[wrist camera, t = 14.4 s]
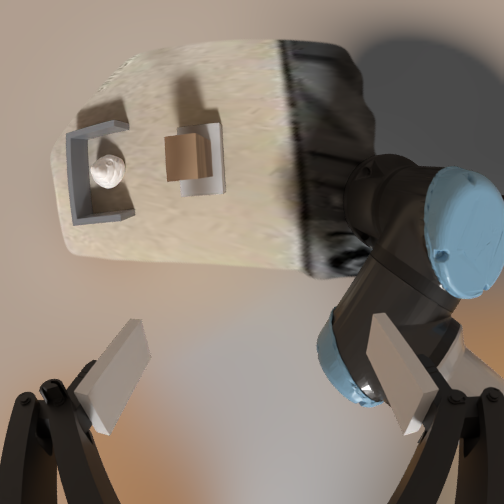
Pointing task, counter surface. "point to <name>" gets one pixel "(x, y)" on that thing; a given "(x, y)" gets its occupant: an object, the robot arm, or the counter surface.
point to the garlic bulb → (108, 171)
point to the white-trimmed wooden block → (196, 159)
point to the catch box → (80, 174)
